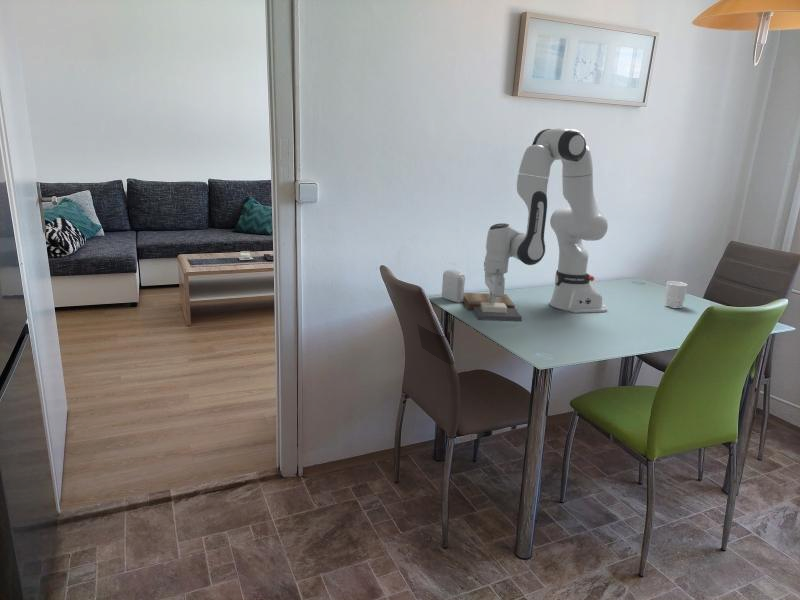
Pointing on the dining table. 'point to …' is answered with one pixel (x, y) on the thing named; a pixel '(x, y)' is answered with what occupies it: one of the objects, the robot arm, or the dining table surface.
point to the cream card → (493, 307)
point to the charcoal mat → (498, 314)
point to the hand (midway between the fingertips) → (492, 302)
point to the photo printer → (453, 286)
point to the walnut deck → (484, 300)
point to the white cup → (675, 293)
